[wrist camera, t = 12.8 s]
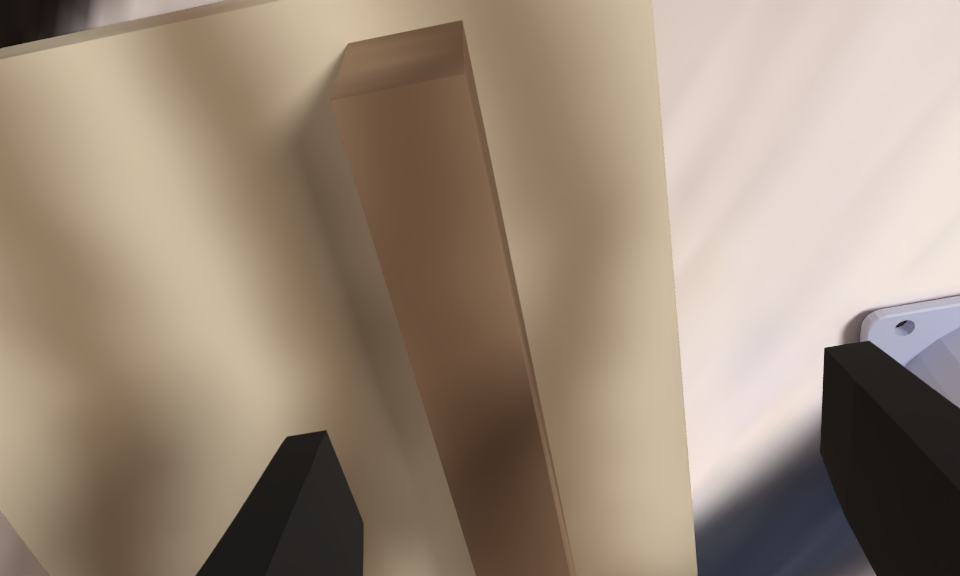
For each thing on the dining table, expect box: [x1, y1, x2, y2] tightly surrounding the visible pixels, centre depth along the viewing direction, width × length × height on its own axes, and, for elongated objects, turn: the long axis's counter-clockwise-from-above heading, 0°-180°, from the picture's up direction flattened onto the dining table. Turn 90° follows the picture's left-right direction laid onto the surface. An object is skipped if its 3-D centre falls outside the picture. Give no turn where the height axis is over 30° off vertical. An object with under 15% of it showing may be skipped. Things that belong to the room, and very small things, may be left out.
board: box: [0, 0, 698, 576], centre depth 26 cm, size 20×32×1 cm, turn 11°
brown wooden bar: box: [330, 20, 576, 576], centre depth 21 cm, size 2×18×3 cm, turn 11°
